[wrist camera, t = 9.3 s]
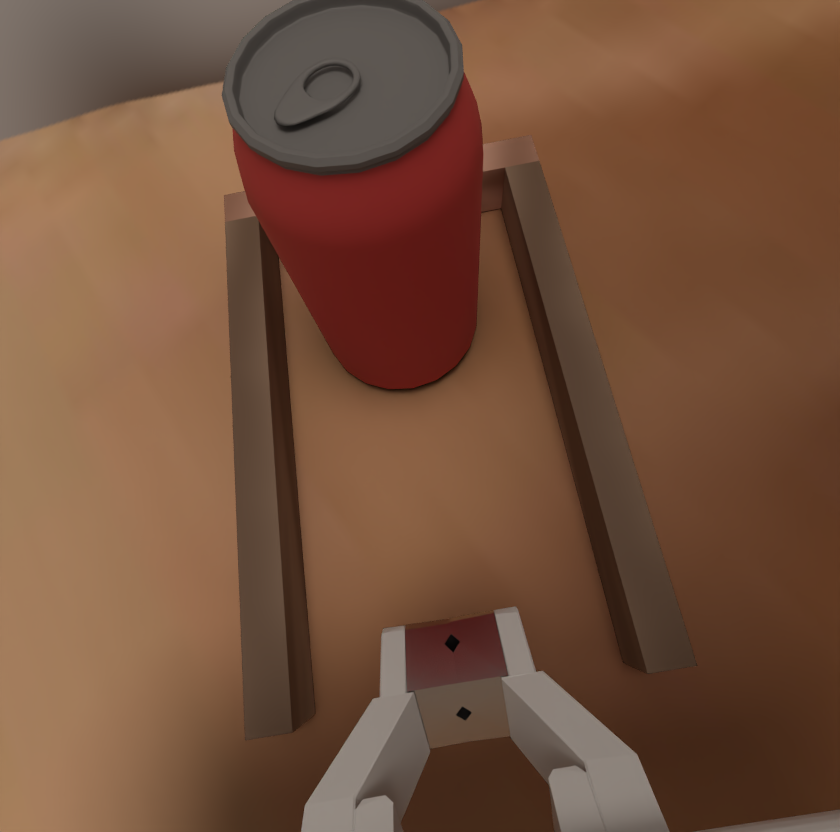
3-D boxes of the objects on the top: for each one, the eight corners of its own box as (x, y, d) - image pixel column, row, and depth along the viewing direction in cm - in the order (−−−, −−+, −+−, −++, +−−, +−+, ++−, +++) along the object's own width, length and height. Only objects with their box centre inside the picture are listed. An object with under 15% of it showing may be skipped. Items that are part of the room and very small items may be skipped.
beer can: (301, 332, 23) (142, 84, 12) (402, 240, 24) (346, -67, 13) (403, 425, 21) (331, 237, 10) (507, 321, 22) (550, 45, 11)
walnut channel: (524, 178, 25) (531, 135, 22) (666, 655, 18) (697, 665, 15) (246, 232, 25) (224, 195, 23) (274, 720, 18) (245, 740, 16)
